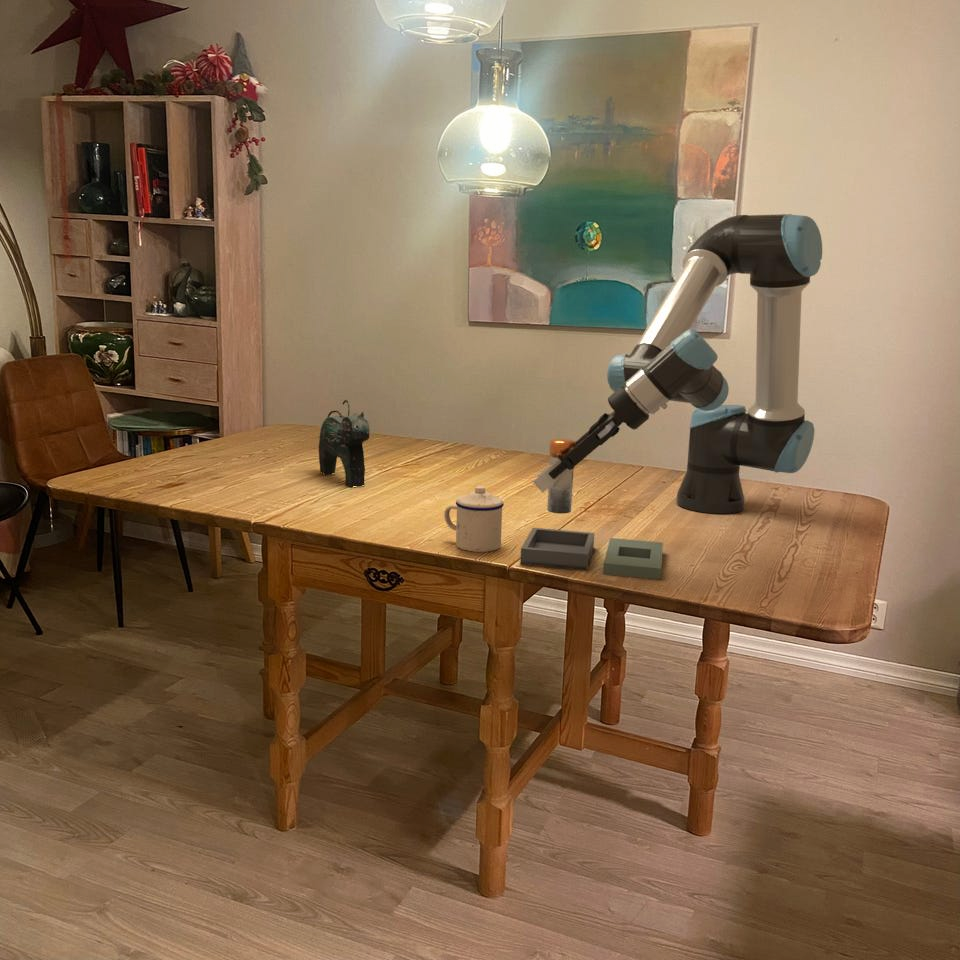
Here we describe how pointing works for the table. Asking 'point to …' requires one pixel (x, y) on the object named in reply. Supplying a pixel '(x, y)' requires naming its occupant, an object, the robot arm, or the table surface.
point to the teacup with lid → (477, 521)
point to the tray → (557, 548)
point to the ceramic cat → (344, 445)
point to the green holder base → (633, 558)
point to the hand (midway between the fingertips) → (540, 483)
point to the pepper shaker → (562, 487)
